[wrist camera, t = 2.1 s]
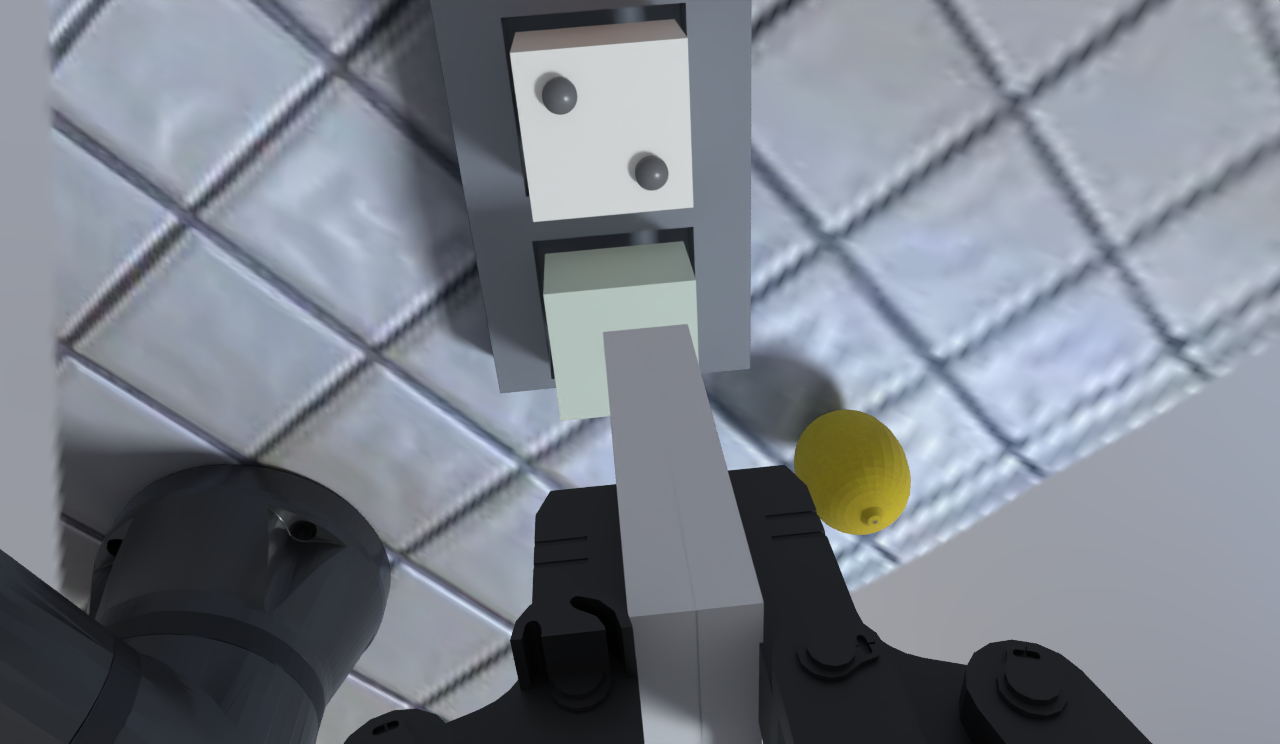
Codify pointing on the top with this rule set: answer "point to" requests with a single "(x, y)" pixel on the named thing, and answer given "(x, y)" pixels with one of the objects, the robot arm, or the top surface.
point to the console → (516, 246)
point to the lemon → (853, 471)
